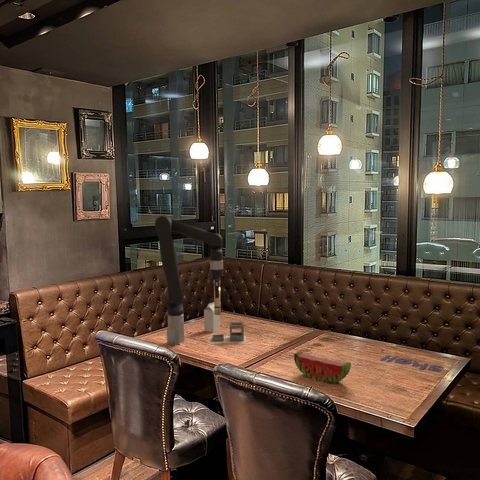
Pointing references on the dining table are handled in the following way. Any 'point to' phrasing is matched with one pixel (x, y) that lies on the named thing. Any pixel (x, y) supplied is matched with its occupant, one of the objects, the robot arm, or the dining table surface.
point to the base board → (226, 340)
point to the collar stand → (232, 333)
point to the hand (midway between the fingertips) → (217, 297)
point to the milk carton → (211, 319)
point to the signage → (415, 363)
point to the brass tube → (217, 304)
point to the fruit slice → (321, 367)
